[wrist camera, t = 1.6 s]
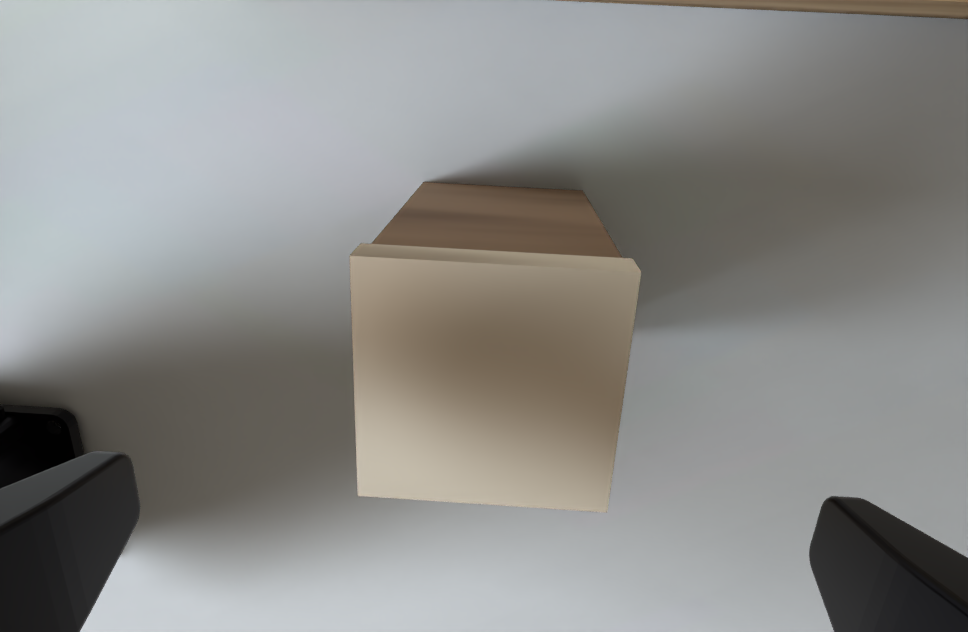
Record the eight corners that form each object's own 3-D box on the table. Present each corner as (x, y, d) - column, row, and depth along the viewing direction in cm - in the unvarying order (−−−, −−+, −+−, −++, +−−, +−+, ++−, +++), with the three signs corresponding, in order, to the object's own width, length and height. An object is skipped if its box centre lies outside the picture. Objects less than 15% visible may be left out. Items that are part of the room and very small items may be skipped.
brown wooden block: (570, 340, 19) (606, 512, 12) (418, 331, 19) (358, 495, 12) (586, 187, 18) (641, 272, 10) (419, 178, 18) (349, 256, 10)
